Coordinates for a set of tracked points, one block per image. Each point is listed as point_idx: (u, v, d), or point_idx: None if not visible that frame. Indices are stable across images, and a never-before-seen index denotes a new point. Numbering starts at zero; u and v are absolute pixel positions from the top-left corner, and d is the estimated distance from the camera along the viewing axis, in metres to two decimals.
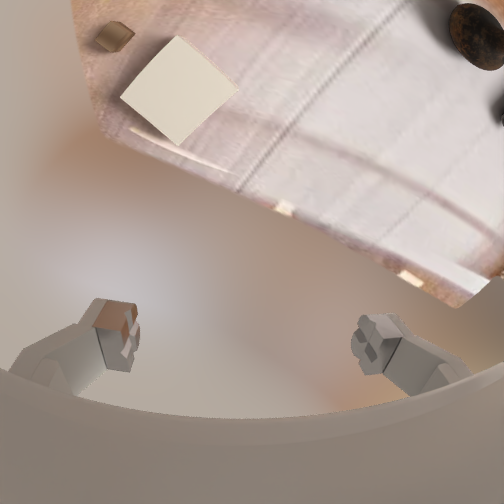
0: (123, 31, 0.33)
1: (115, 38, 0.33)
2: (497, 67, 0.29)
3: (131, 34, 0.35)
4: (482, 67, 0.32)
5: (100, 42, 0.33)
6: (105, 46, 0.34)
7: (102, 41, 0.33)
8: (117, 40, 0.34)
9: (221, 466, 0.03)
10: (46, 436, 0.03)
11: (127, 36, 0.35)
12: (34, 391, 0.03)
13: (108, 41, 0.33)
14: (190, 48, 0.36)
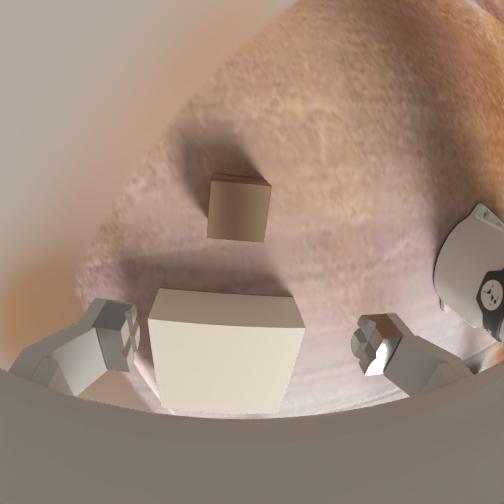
0: (262, 233, 0.24)
1: (240, 228, 0.24)
2: None
3: None
4: None
5: (215, 200, 0.22)
6: (212, 218, 0.23)
7: (218, 203, 0.22)
8: (237, 235, 0.24)
9: (221, 466, 0.03)
10: (46, 436, 0.03)
11: None
12: (34, 391, 0.03)
13: (225, 218, 0.23)
14: (295, 354, 0.29)
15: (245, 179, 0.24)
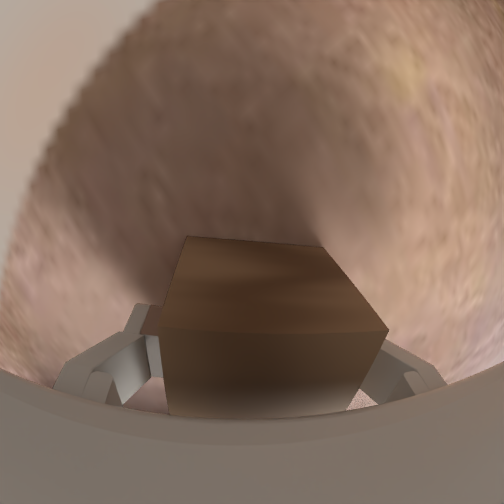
0: None
1: None
2: None
3: None
4: None
5: (183, 382, 0.06)
6: None
7: (198, 390, 0.06)
8: None
9: (221, 466, 0.03)
10: (46, 436, 0.03)
11: None
12: (34, 391, 0.03)
13: (223, 417, 0.06)
14: None
15: (284, 275, 0.08)
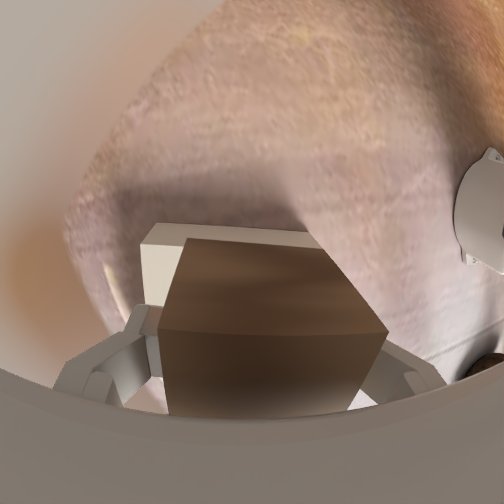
0: None
1: None
2: None
3: None
4: None
5: (183, 384, 0.06)
6: None
7: (197, 392, 0.06)
8: None
9: (221, 466, 0.03)
10: (46, 436, 0.03)
11: None
12: (34, 391, 0.03)
13: (223, 418, 0.06)
14: None
15: (284, 276, 0.08)
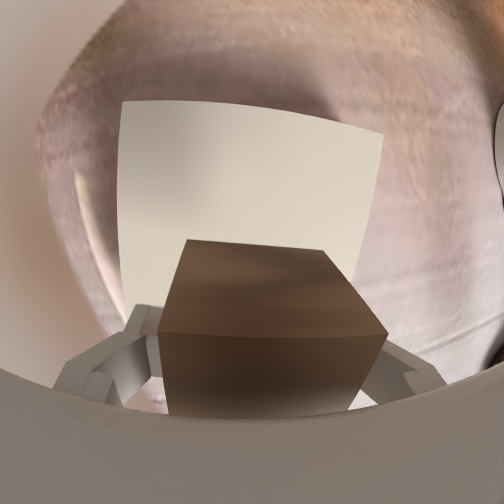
0: None
1: None
2: None
3: None
4: None
5: (182, 385, 0.06)
6: None
7: (197, 393, 0.06)
8: None
9: (221, 466, 0.03)
10: (46, 436, 0.03)
11: None
12: (34, 391, 0.03)
13: None
14: (370, 191, 0.16)
15: (284, 278, 0.08)
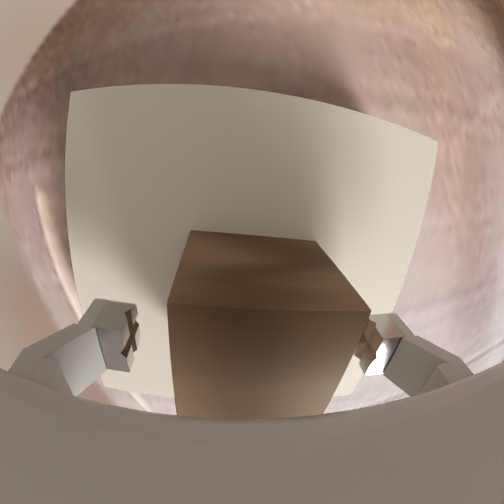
0: (320, 407, 0.08)
1: (266, 407, 0.08)
2: None
3: None
4: None
5: (187, 356, 0.06)
6: (185, 392, 0.07)
7: (200, 364, 0.07)
8: (258, 418, 0.08)
9: (221, 466, 0.03)
10: (46, 436, 0.03)
11: None
12: (34, 391, 0.03)
13: (223, 392, 0.07)
14: (418, 218, 0.11)
15: (278, 263, 0.09)
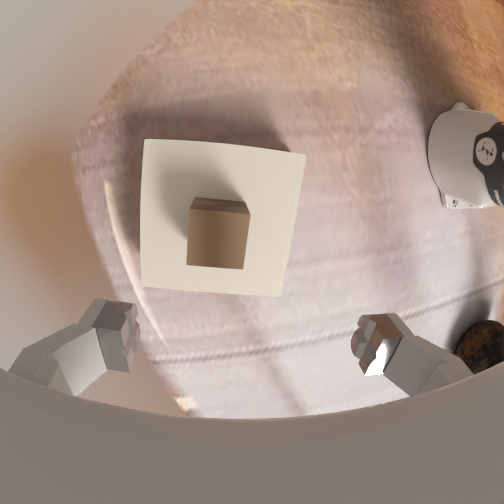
0: (241, 260, 0.24)
1: (219, 256, 0.23)
2: None
3: None
4: None
5: (193, 228, 0.22)
6: (191, 246, 0.23)
7: (197, 231, 0.22)
8: (217, 262, 0.24)
9: (221, 466, 0.03)
10: (46, 436, 0.03)
11: None
12: (34, 391, 0.03)
13: (204, 245, 0.23)
14: (297, 191, 0.27)
15: (225, 205, 0.24)
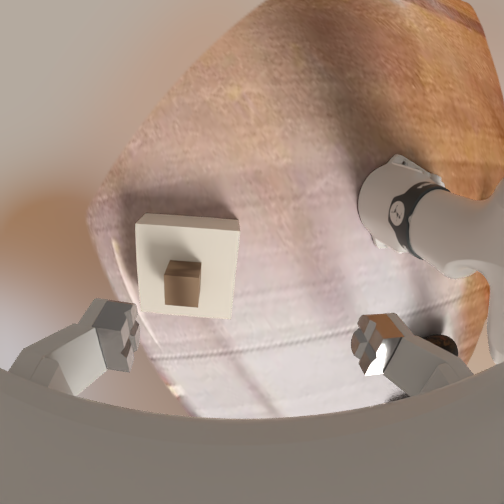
0: (196, 302, 0.39)
1: (183, 300, 0.39)
2: None
3: None
4: None
5: (167, 285, 0.37)
6: (166, 294, 0.38)
7: (169, 287, 0.38)
8: (182, 303, 0.39)
9: (221, 466, 0.03)
10: (46, 436, 0.03)
11: None
12: (34, 391, 0.03)
13: (174, 294, 0.38)
14: (235, 255, 0.42)
15: (186, 268, 0.39)
